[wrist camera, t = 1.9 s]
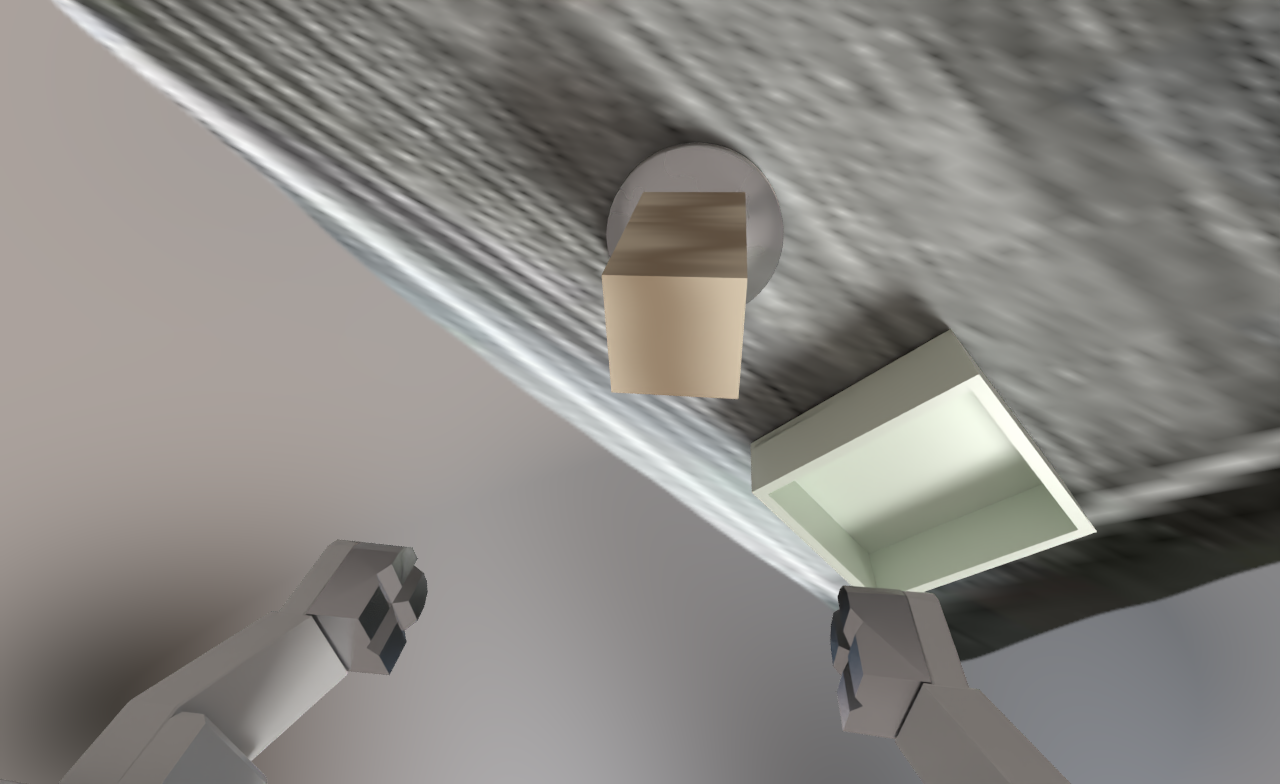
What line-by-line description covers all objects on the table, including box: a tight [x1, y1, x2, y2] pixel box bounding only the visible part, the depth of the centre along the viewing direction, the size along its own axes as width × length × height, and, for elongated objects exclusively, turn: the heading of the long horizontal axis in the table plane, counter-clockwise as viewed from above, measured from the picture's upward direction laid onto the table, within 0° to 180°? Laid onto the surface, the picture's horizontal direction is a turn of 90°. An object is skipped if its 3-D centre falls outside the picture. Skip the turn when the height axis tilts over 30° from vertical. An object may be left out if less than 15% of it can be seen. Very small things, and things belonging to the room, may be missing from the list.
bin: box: [751, 329, 1097, 592], centre depth 30 cm, size 12×12×4 cm
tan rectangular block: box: [602, 192, 747, 399], centre depth 22 cm, size 4×4×9 cm
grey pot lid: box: [607, 142, 784, 305], centre depth 24 cm, size 8×8×4 cm
